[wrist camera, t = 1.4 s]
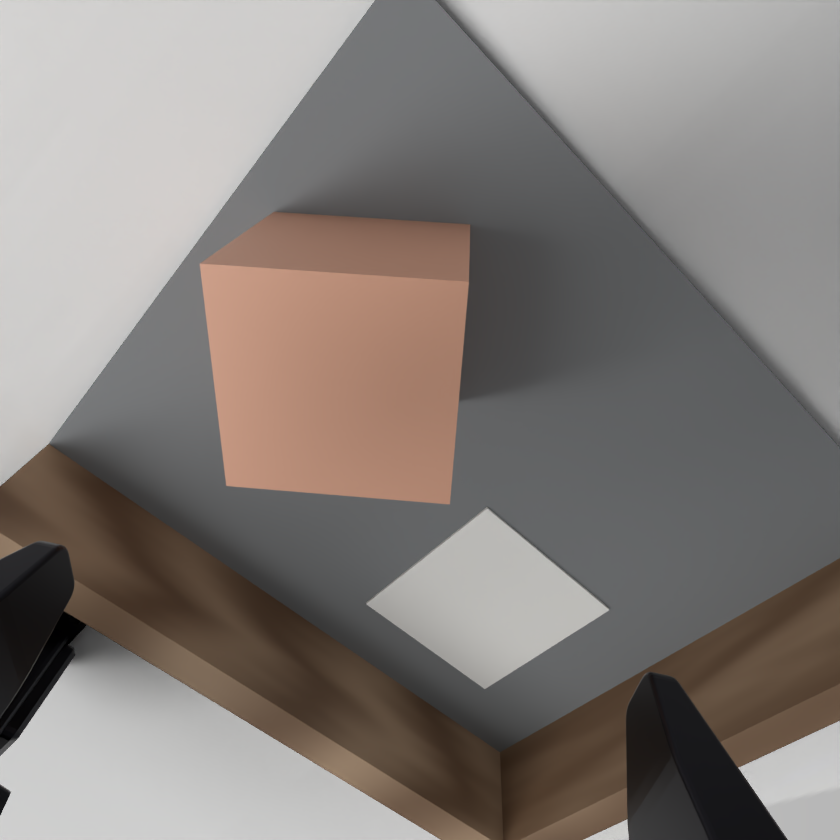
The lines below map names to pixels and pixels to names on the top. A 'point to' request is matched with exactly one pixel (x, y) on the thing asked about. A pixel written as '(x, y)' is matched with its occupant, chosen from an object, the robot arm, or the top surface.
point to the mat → (490, 411)
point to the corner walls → (393, 703)
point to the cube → (339, 354)
